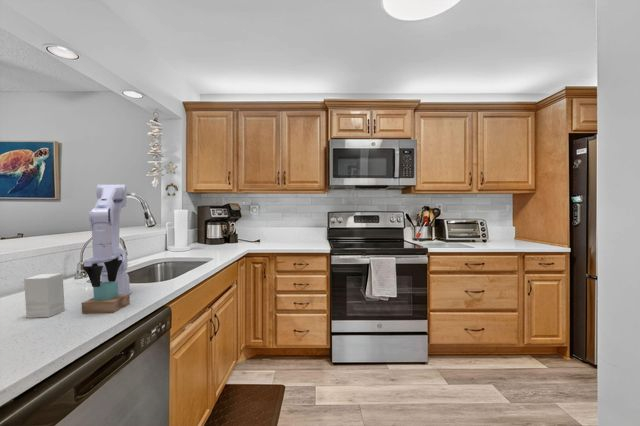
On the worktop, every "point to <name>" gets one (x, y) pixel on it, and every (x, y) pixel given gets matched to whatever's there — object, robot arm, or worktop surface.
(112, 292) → the teal cube
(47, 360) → the worktop surface
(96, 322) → the worktop surface
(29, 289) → the supplement box
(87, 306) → the walnut block
